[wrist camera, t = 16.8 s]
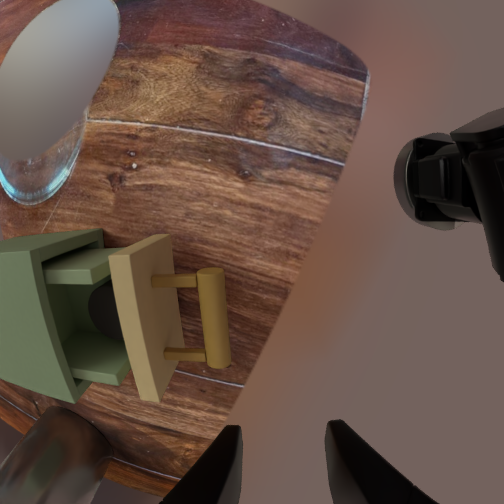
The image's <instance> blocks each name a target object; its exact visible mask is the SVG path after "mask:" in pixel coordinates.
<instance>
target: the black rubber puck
mask: <svg viewBox="0 0 504 504" xmlns="http://www.w3.org/2000/svg"><path fill="white" fill-rule="evenodd" d="M88 310H89V315H90V318H91V320H92V322H93V323H94V325H95V326H96V328H97V329H98V330H99V331H100V332H101V333H103V334H104V335H105V336H107V337H109V338H112V339H116V340H124V337H123V333H122V328H121V324H120V319H119V315H118V310H117V305H116V300H115V295H114V289H113V283H112V279H110V280H109V281H107V282H106V283H104V284H103V285H101V286H99V287H98V288H96V289H95V290H94V291H93V292H92V293H91V295H90V298H89V301H88Z"/></svg>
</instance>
